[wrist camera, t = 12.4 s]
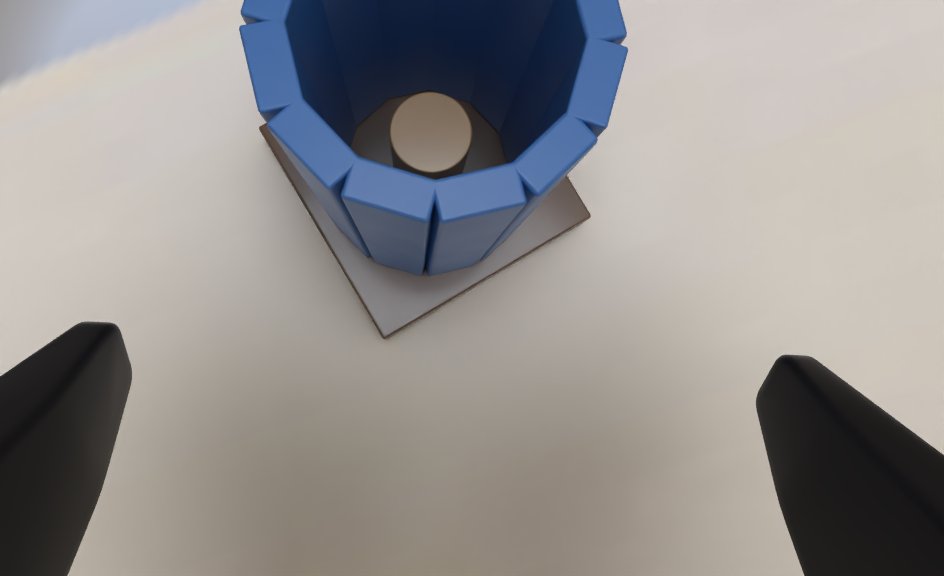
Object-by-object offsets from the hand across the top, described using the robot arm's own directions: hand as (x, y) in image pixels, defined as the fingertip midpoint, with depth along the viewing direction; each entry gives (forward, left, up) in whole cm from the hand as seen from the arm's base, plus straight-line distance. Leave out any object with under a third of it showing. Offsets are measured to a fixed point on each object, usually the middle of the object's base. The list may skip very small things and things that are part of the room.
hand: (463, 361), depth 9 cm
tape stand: (+6, +1, -14) cm, 15 cm away
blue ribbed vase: (+6, +1, -12) cm, 14 cm away
